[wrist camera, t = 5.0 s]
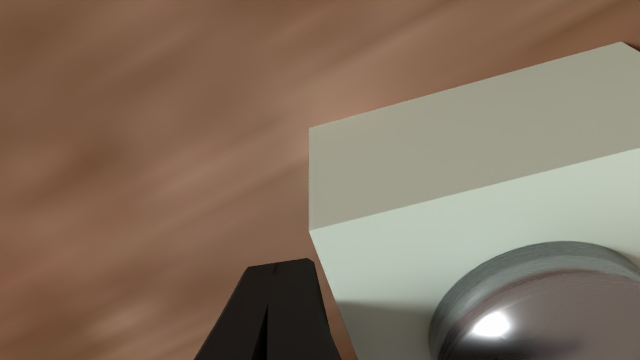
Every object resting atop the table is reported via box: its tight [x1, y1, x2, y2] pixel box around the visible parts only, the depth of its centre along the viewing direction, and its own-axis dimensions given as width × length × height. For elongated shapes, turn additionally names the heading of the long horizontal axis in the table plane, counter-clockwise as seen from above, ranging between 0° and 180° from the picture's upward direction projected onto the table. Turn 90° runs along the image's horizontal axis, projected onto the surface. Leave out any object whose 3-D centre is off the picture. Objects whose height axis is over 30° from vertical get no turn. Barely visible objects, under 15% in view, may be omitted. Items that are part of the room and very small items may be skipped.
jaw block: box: [309, 42, 640, 360], centre depth 10 cm, size 6×6×4 cm
